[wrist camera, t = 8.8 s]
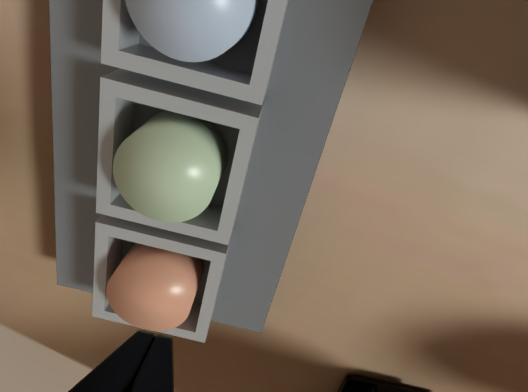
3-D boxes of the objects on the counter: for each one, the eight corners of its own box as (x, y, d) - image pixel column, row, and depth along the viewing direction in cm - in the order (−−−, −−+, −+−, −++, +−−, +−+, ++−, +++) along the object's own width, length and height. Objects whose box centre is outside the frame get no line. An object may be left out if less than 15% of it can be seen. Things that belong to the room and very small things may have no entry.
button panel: (264, 308, 24) (258, 362, 21) (74, 262, 24) (35, 309, 20) (385, -65, 15) (413, -84, 11) (76, -153, 14) (2, -201, 11)
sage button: (217, 202, 18) (205, 232, 16) (134, 181, 18) (110, 209, 16) (234, 123, 16) (223, 144, 14) (141, 99, 16) (115, 116, 14)
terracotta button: (196, 301, 21) (184, 338, 19) (125, 284, 21) (104, 319, 19) (208, 244, 19) (196, 277, 17) (130, 225, 19) (108, 256, 17)
